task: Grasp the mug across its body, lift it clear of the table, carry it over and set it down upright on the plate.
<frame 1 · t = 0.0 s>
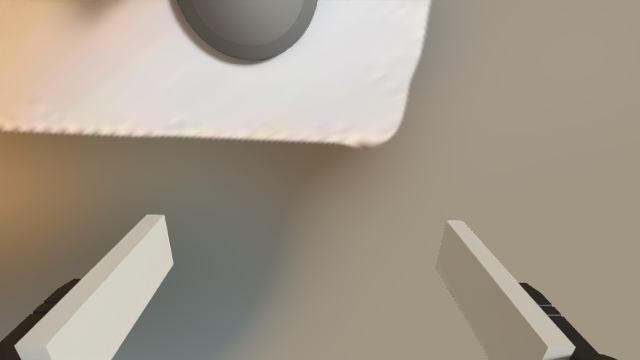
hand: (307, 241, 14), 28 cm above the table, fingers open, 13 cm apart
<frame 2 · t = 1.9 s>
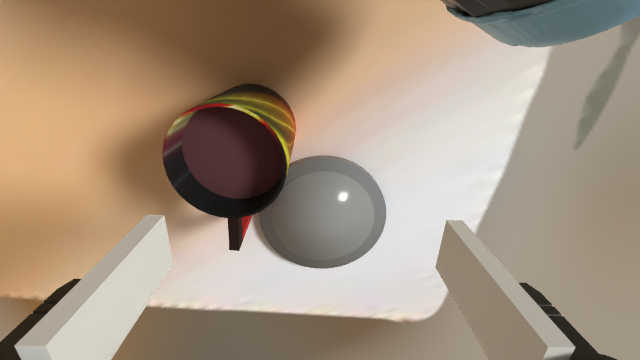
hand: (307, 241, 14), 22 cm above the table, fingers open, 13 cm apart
mug: (262, 143, 35), on the table
plate: (322, 213, 39), on the table
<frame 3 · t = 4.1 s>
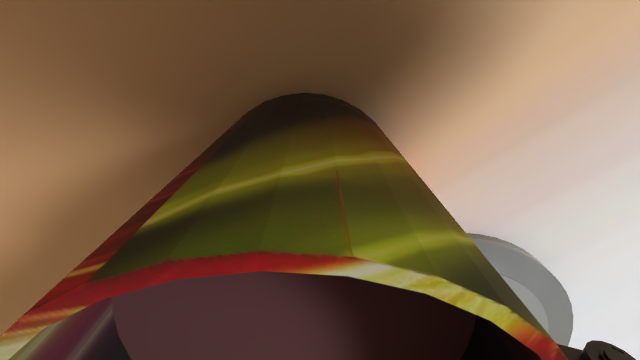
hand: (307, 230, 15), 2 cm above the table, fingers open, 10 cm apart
mug: (321, 216, 17), on the table, touching gripper, plate
plate: (434, 333, 20), on the table
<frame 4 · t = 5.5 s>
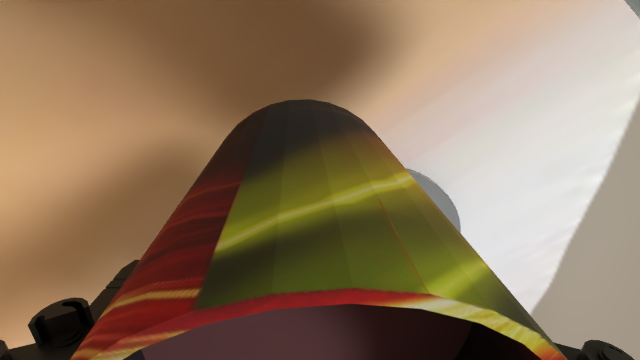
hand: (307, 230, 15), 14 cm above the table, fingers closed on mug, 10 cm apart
mug: (315, 218, 17), point 12 cm above the table, touching gripper
plate: (379, 237, 32), on the table
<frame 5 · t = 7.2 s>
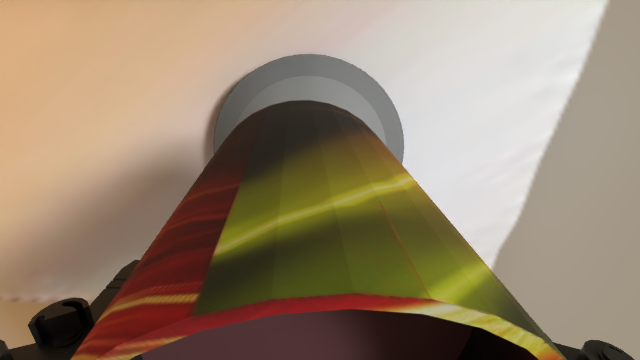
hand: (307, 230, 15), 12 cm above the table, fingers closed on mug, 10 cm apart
mug: (315, 219, 17), point 10 cm above the table, touching gripper
plate: (309, 152, 26), on the table
when the fingers open (4 cm above the table, at t = 9.2 s): mug stays where it is, resting on plate.
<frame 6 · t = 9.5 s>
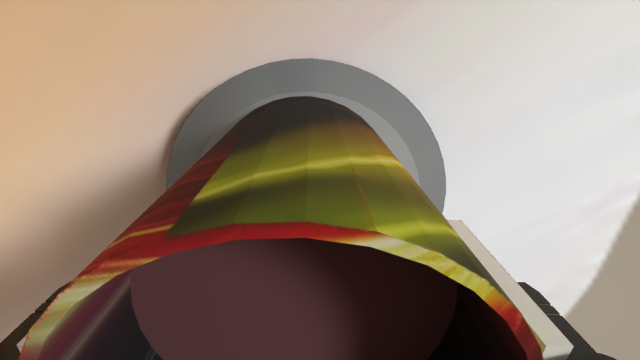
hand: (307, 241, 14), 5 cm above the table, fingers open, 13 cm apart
mug: (315, 213, 18), point 1 cm above the table, touching plate
plate: (308, 197, 19), on the table
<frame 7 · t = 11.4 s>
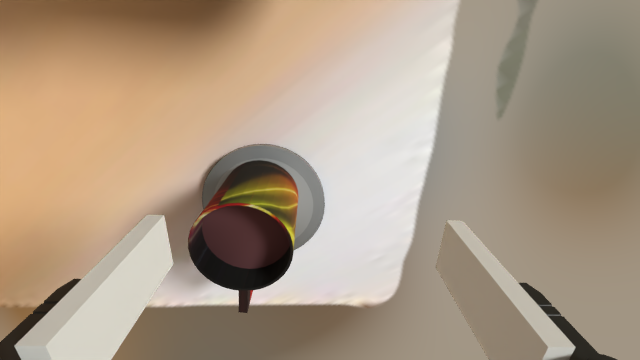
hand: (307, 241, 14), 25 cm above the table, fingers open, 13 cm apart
mug: (267, 208, 40), point 1 cm above the table, touching plate
plate: (265, 201, 41), on the table
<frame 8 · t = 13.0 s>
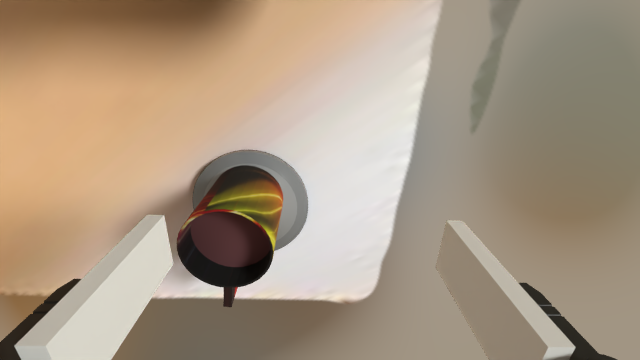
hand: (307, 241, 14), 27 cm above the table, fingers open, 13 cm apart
mug: (254, 209, 42), point 1 cm above the table, touching plate
plate: (252, 203, 43), on the table
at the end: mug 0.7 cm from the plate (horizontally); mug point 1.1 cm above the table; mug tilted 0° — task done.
